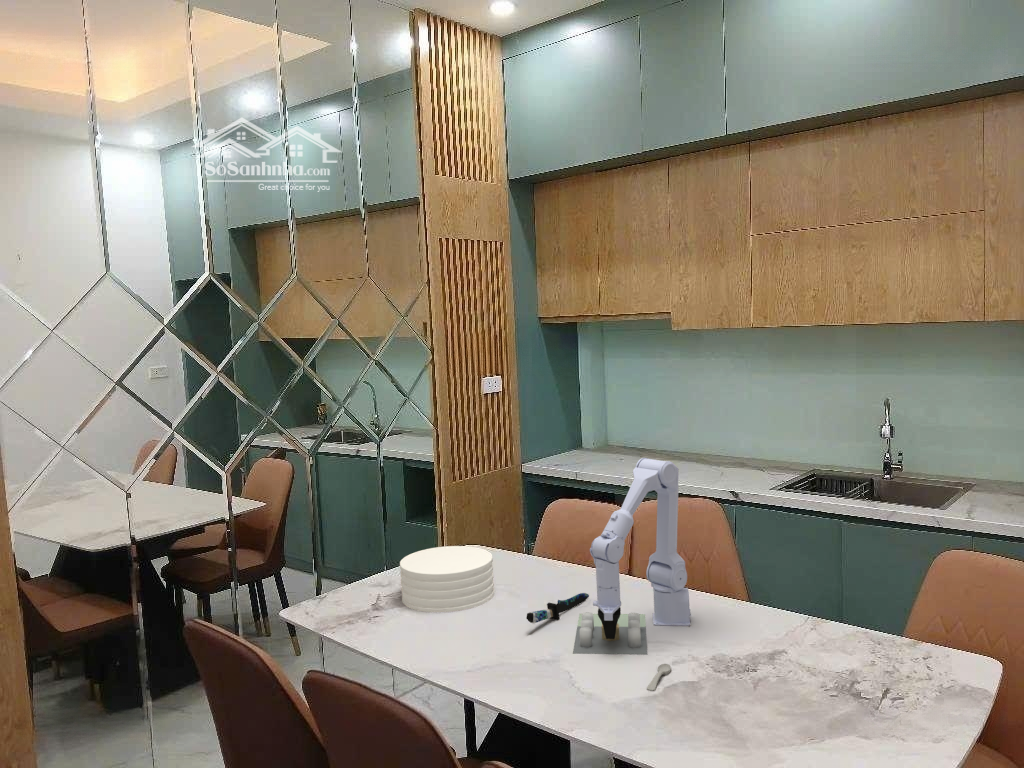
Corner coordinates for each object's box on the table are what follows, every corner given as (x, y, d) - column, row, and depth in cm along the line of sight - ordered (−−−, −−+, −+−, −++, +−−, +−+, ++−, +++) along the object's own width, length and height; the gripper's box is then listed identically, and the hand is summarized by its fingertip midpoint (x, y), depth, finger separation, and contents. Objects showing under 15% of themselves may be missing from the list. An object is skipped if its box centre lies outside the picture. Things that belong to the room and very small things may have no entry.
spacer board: (645, 614, 211) (644, 599, 211) (647, 655, 185) (646, 638, 185) (579, 614, 214) (578, 599, 213) (572, 654, 188) (572, 637, 188)
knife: (530, 630, 200) (530, 613, 200) (520, 628, 202) (521, 610, 202) (596, 606, 224) (597, 591, 224) (587, 604, 226) (588, 589, 226)
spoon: (673, 670, 177) (673, 662, 177) (657, 696, 167) (656, 688, 167) (661, 668, 179) (660, 659, 178) (644, 694, 168) (643, 685, 168)
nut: (619, 633, 199) (619, 621, 198) (619, 641, 194) (618, 629, 193) (602, 633, 199) (602, 621, 199) (601, 641, 194) (601, 629, 194)
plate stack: (443, 575, 254) (441, 541, 253) (512, 589, 237) (510, 553, 236) (382, 602, 231) (380, 565, 230) (453, 619, 215) (451, 579, 214)
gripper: (593, 575, 199) (595, 626, 200) (590, 595, 185) (593, 649, 186) (620, 575, 198) (622, 626, 199) (620, 595, 184) (622, 650, 185)
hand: (610, 637), depth 193 cm, fingers closed
